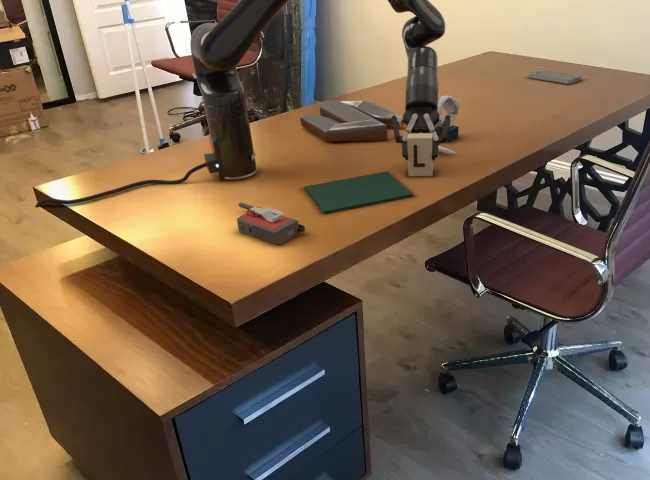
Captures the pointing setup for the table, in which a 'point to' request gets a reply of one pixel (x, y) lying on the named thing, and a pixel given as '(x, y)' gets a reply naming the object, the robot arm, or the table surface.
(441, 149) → the white pointed spike
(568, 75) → the phone case
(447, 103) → the watch
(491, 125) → the table surface
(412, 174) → the cream letter block
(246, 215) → the walkie-talkie
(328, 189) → the desk pad
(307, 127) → the emblem
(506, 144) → the table surface
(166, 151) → the table surface
